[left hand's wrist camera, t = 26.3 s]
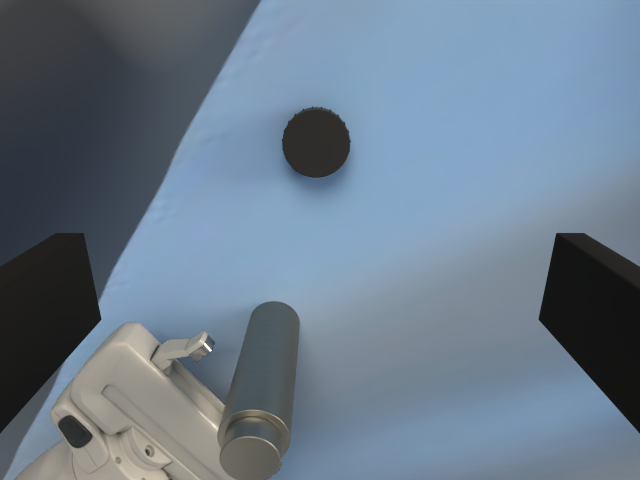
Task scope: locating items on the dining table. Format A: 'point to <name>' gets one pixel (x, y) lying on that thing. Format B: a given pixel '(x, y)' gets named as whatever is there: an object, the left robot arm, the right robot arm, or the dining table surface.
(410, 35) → the dining table surface
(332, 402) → the dining table surface
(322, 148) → the lid
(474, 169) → the dining table surface
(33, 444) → the dining table surface
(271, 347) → the grey cylinder
